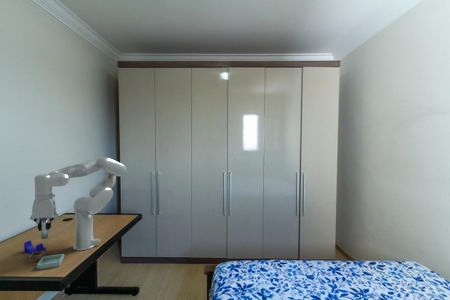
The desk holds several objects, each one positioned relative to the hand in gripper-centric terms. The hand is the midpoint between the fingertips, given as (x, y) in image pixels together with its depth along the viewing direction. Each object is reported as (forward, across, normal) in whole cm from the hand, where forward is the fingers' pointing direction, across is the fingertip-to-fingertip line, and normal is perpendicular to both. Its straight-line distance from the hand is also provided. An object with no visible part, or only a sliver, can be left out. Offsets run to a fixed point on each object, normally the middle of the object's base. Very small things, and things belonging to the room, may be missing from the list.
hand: (44, 229), depth 131 cm
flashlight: (+5, 0, 0) cm, 5 cm away
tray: (+18, -4, +4) cm, 19 cm away
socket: (+18, +6, -4) cm, 19 cm away
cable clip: (+18, +10, -14) cm, 26 cm away
